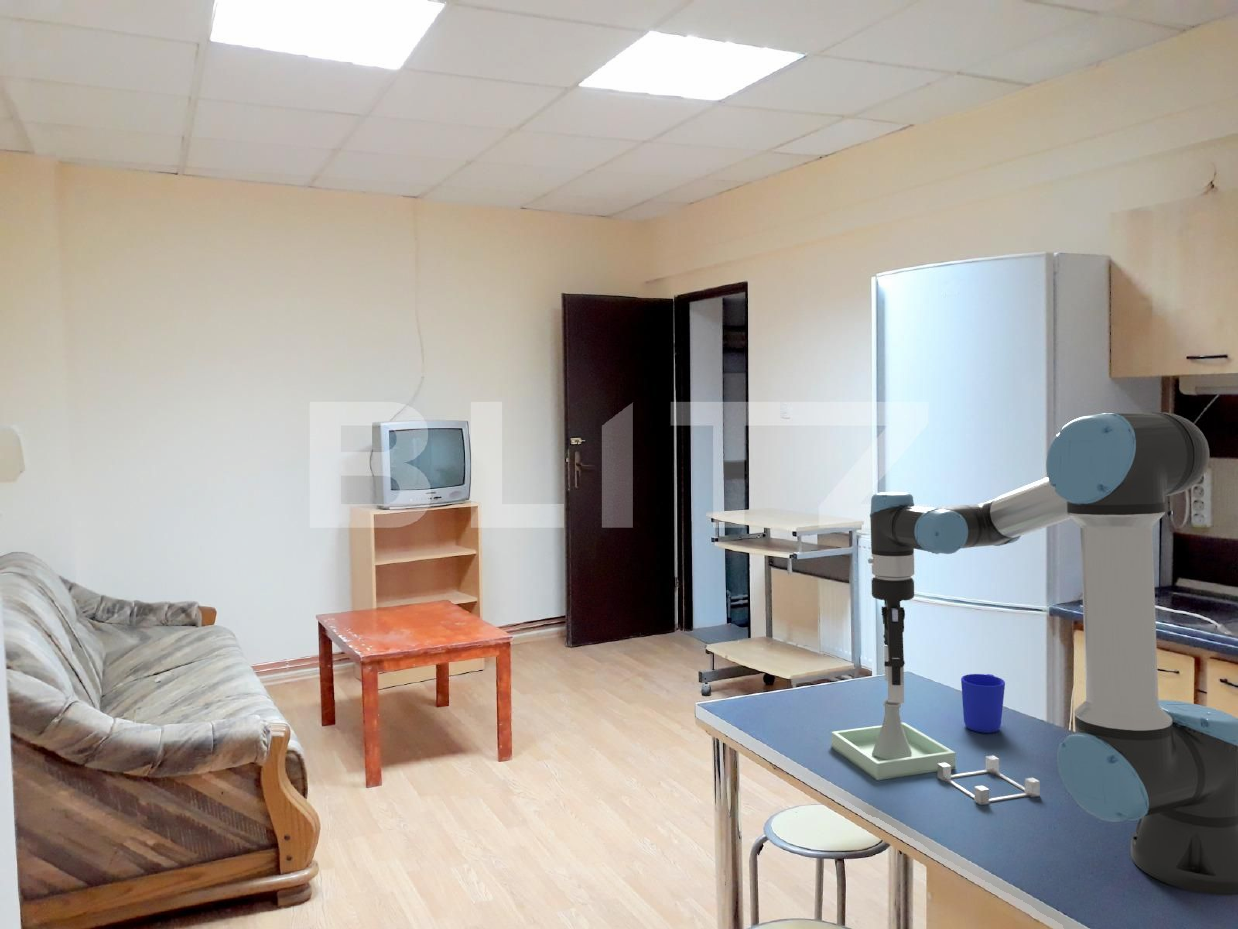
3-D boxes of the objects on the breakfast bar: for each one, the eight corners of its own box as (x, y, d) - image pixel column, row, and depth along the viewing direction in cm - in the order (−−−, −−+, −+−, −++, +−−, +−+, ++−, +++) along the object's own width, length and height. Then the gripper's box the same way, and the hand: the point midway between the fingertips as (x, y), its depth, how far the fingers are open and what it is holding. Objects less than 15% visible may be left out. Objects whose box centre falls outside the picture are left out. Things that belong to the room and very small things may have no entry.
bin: (955, 768, 165) (955, 752, 165) (877, 780, 160) (877, 763, 160) (903, 737, 180) (904, 722, 180) (831, 747, 176) (831, 732, 175)
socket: (1039, 795, 153) (1039, 781, 153) (980, 805, 150) (980, 790, 150) (992, 769, 164) (993, 755, 164) (937, 777, 161) (937, 763, 161)
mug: (1010, 720, 189) (1011, 672, 188) (1000, 739, 179) (1000, 689, 178) (969, 713, 193) (969, 666, 192) (956, 731, 183) (957, 682, 182)
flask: (918, 754, 171) (919, 701, 170) (902, 766, 165) (902, 712, 164) (881, 744, 175) (882, 693, 174) (864, 756, 170) (865, 703, 169)
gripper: (869, 565, 181) (870, 671, 182) (873, 588, 157) (875, 710, 158) (909, 565, 179) (910, 673, 180) (919, 589, 155) (920, 713, 156)
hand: (893, 691), depth 169 cm, fingers open, 13 cm apart
